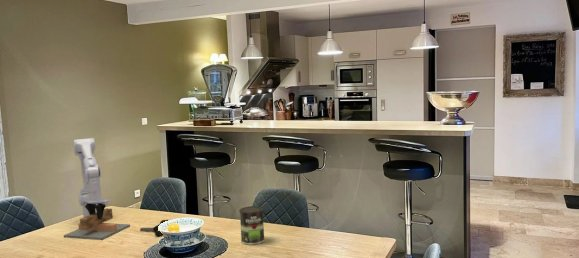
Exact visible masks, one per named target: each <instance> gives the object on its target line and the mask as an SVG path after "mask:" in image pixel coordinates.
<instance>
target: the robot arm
mask: <svg viewBox="0 0 579 258" xmlns="http://www.w3.org/2000/svg"><path fill="white" fill-rule="evenodd" d="M72 144H73V145H72V146H73V151H74V155H75V156H76V157H78V158H79V160H80V169H81V175H82V184H83V185H82V186H83V187H82V188H81V189H79V190H78V203H79V206H80V207H82V214H83V217H82V218H84V217H86V216H89V215H91V214H94V213H96V212H97V216H98V219H101V218H102V216H103V211H104V209H106V207H107V205H109V204H110V200H109V199H104V198H102V188H101V175H102V173H101V172H102V171H101V167H100V165H99V164H98V162H97V159H96V157H95V156H93V154H94V153H95V150H96V149H95V148H96V141H95V138H94V137H91V138H90V137H89V138H80V139H79V138H78V139H74V140H73V143H72Z"/></svg>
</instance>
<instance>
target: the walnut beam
mask: <svg viewBox="0 0 579 258" xmlns="http://www.w3.org/2000/svg"><path fill="white" fill-rule="evenodd" d="M113 218H114V217H113V208H106V207H105V208H104V211H103V216H102V218H101V219H98V216H97V212H96V213H94V214H91V215H89V216H86V217H82V218H80V219H79V223H80V225H81V229H83V230H88V229H90V228H92V227H94V226H97V225H99V224H101V223H107V222H108V221H111V220H112V219H113Z"/></svg>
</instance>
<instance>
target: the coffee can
mask: <svg viewBox="0 0 579 258" xmlns="http://www.w3.org/2000/svg"><path fill="white" fill-rule="evenodd" d="M239 222H240V225H239V226H240V237H241V239H240V243H241V244H242V245H243V244H244V245H247V246H249V245H250V246H251V245H259V244H262V243H264V242H265V229H264V228H265V227H264V226H265V224H264V223H265V222H264V208H263V207H261V206H258V205H256V206H253V205H252V206H244V207H241V208H240V209H239Z"/></svg>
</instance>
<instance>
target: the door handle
mask: <svg viewBox="0 0 579 258" xmlns="http://www.w3.org/2000/svg"><path fill="white" fill-rule="evenodd" d="M168 220H169V219H162V220H160V222H159V224H158V225H156V226H154V227H140V229H139V231H140V232H146V233H147V232H148V233H154V236H155V237H156V238H157V237H161V236H163V235H162V233H161V232H160V231H158V226H159V225H160V224H161V223H163V222H165V221H168Z"/></svg>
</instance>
